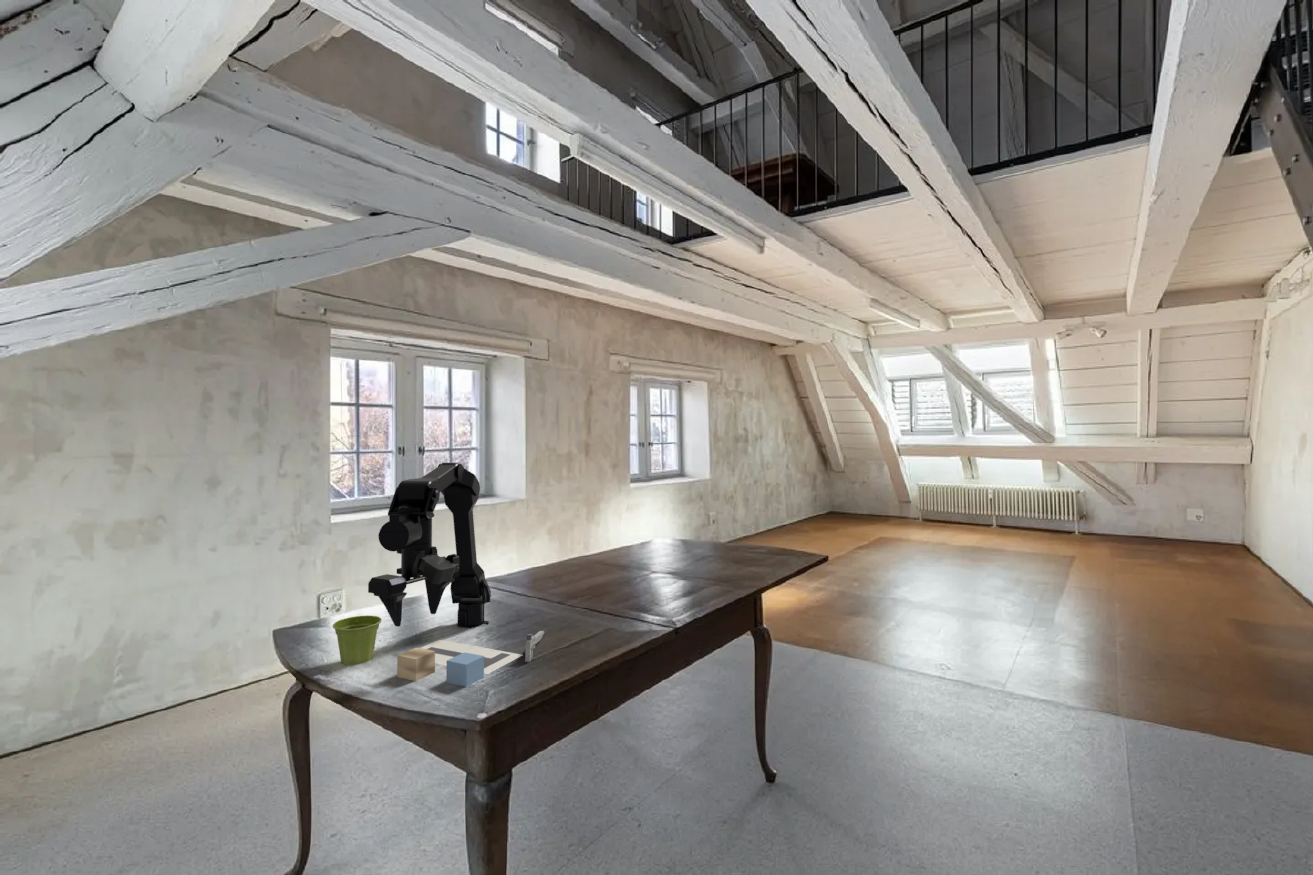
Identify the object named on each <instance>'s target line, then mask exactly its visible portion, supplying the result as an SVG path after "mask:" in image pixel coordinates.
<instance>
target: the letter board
mask: <svg viewBox="0 0 1313 875" xmlns="http://www.w3.org/2000/svg"><path fill="white" fill-rule="evenodd" d="M420 648H422V649H427V650H432V651H435V665H439V666H444V667H447V660H449V659H451V658H453V657H455V656H458V655H460V654H462V653H464V652H465V653H470V654H476V655H481V656H484V675H488V674H489V675H490V674H491V673H492V672H494V671H497V670H498V669H500V668H502V667H504V666H506V665H508V664H509V663H511V662H513V661H515V660H516V659H519V658H520V657H522V656H523V654H519V653H515V652H511V651H510V652H508V651H505V650H504V651H503V650H499V649H492V648H488V647H482V646H476V645H471V644H466V643H461V642H455V641H450V640H449V641H448V640H443V639H439V640H436V641H434V642H431V643H429V644H426V645H424V646H421V647H420Z"/></svg>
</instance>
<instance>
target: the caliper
mask: <svg viewBox="0 0 1313 875" xmlns="http://www.w3.org/2000/svg"><path fill="white" fill-rule="evenodd" d="M544 633H545V630H539V631H538V632H537V633H536V634H534V635H533V633H527V634H526V640H525V658H524V659H525V660H524V661H525V663H530V662H531V661H532V659H533V652H534V650H535V649H536V645H537V644H538V643H539V642H540V641H541V640H542V637H543V635H544Z"/></svg>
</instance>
